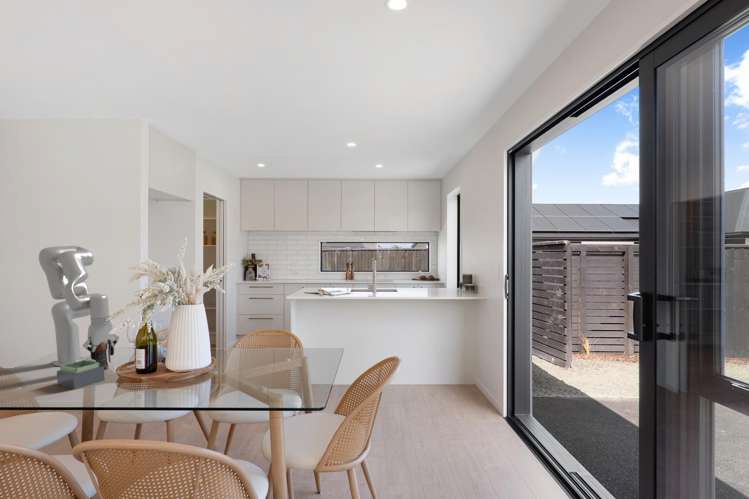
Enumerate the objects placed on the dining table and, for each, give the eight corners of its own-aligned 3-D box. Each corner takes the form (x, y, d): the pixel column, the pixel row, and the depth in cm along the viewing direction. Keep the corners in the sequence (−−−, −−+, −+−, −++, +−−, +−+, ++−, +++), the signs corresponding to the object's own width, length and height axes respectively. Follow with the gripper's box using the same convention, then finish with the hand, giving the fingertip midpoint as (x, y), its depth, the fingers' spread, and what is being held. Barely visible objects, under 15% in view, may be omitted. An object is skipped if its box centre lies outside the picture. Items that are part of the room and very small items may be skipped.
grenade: (111, 369, 200) (109, 338, 200) (92, 372, 197) (90, 340, 197) (114, 366, 206) (112, 335, 205) (95, 368, 203) (93, 337, 202)
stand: (57, 384, 181) (56, 366, 181) (87, 375, 192) (86, 358, 191) (74, 389, 174) (72, 370, 174) (104, 380, 185) (103, 362, 185)
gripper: (114, 316, 210) (116, 351, 211) (76, 324, 195) (78, 361, 196) (123, 317, 206) (125, 353, 207) (84, 325, 191) (87, 363, 192)
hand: (102, 357), depth 201 cm, fingers open, 7 cm apart
